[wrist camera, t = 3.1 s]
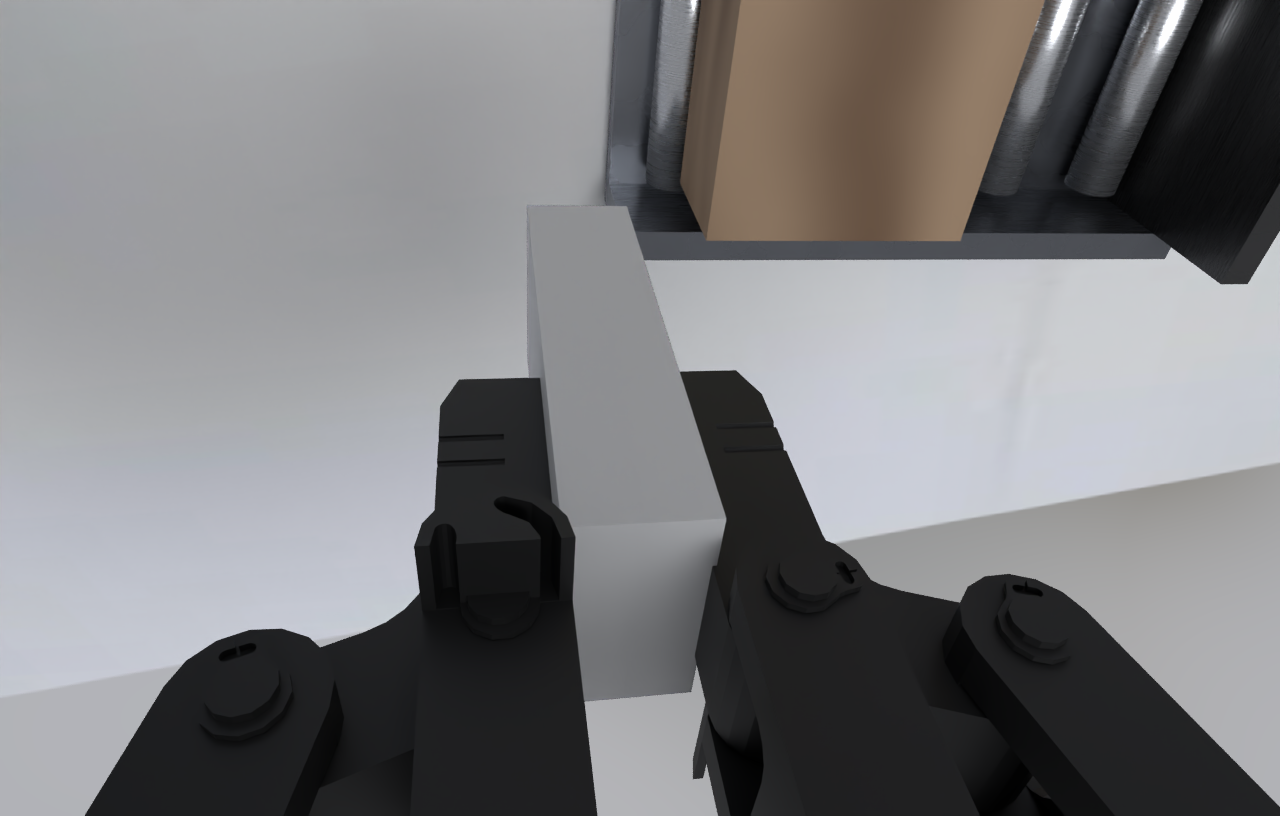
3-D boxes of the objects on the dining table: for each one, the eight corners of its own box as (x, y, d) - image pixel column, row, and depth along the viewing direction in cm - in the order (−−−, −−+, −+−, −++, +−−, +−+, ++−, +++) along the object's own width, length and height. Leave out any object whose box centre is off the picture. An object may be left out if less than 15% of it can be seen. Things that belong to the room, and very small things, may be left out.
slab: (679, 183, 27) (706, 240, 24) (718, -145, 22) (759, -125, 19) (908, 186, 29) (960, 241, 26) (999, -122, 23) (1079, -99, 20)
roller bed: (604, 200, 31) (637, 318, 24) (631, -253, 23) (691, -245, 16) (1094, 204, 34) (1231, 310, 28) (1269, -187, 26) (1516, -160, 20)
